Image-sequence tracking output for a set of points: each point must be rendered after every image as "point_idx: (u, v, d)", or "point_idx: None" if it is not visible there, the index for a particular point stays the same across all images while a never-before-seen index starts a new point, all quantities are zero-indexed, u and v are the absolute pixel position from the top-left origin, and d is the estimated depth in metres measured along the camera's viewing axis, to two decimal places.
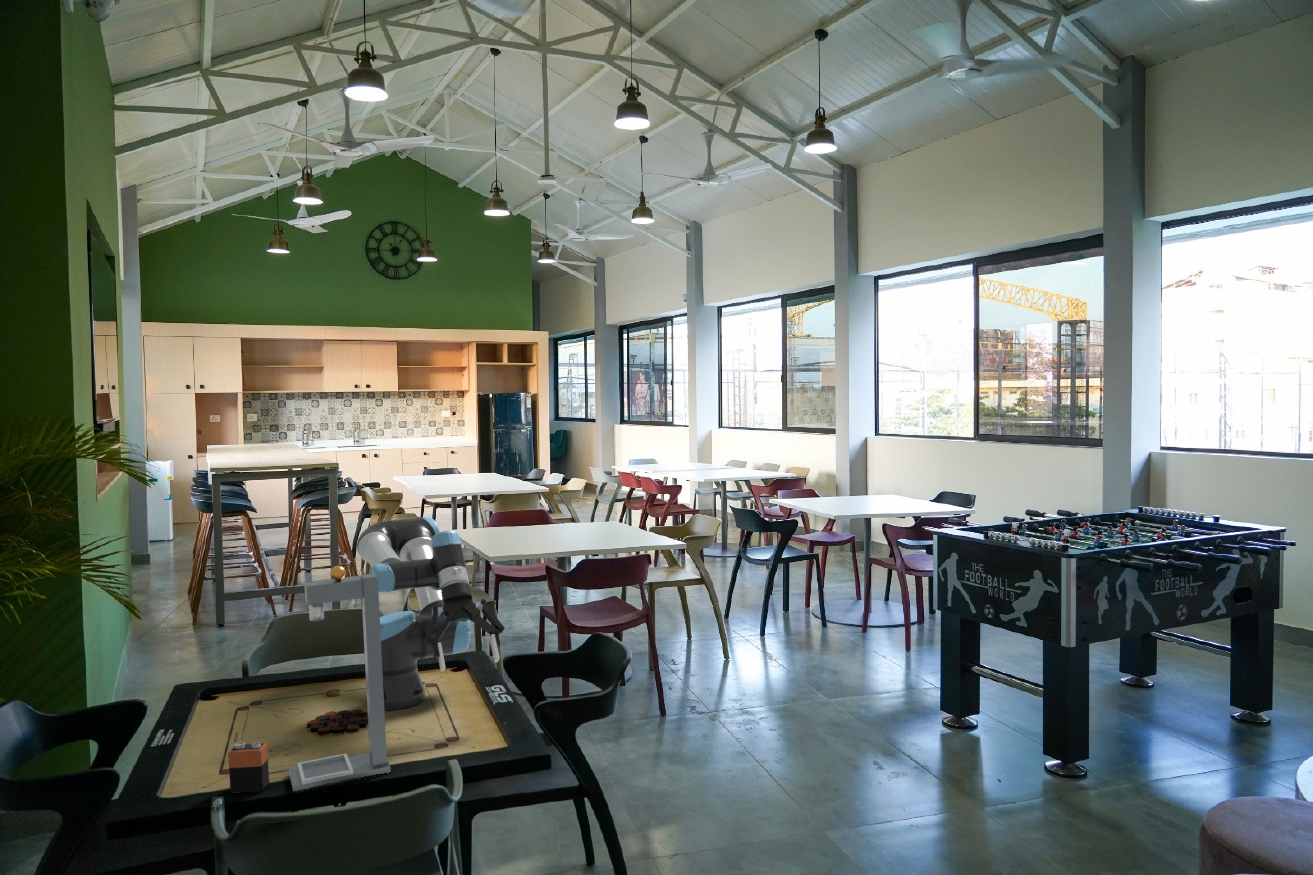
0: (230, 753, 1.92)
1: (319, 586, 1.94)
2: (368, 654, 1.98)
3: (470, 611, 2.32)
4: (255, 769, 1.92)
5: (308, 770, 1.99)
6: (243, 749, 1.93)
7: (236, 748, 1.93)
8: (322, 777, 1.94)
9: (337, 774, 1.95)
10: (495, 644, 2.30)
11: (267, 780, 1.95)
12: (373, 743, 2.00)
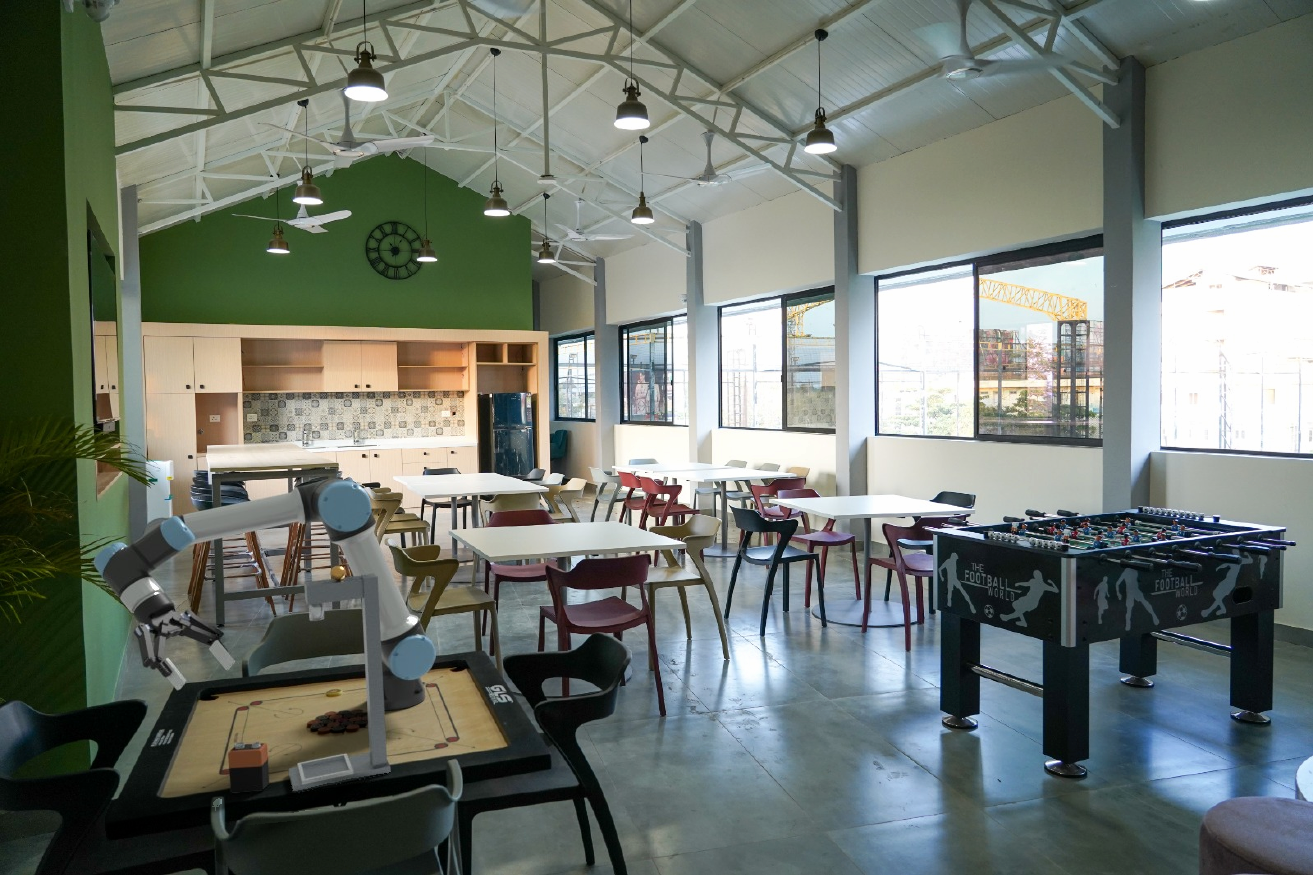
0: (230, 753, 1.92)
1: (319, 586, 1.94)
2: (368, 654, 1.98)
3: None
4: (255, 769, 1.92)
5: (308, 770, 1.99)
6: (243, 749, 1.93)
7: (236, 748, 1.93)
8: (322, 777, 1.94)
9: (337, 774, 1.95)
10: None
11: (267, 780, 1.95)
12: (373, 743, 2.00)
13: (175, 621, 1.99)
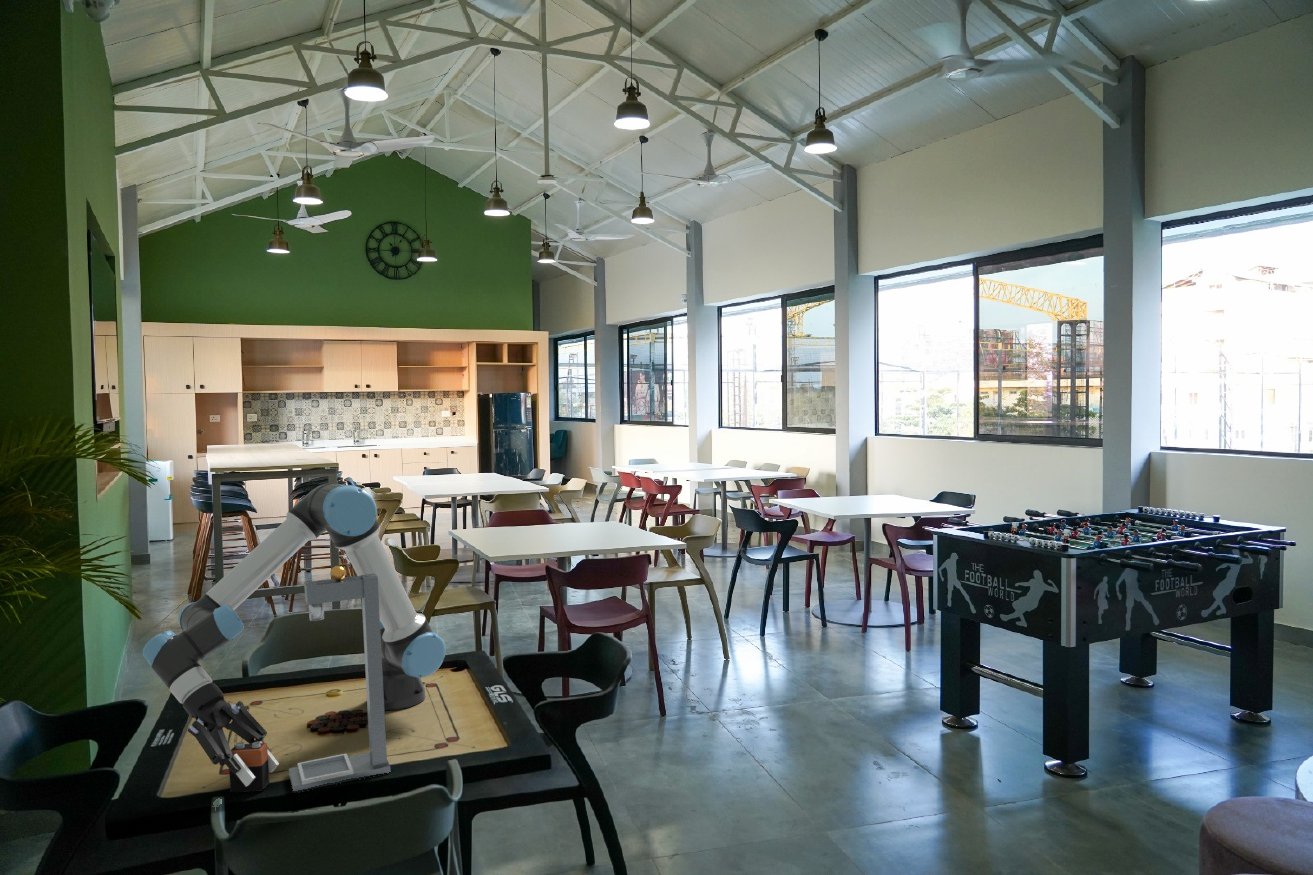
0: None
1: (319, 586, 1.94)
2: (368, 654, 1.98)
3: None
4: (255, 769, 1.92)
5: (308, 770, 1.99)
6: (243, 749, 1.93)
7: (236, 748, 1.93)
8: (322, 777, 1.94)
9: (337, 774, 1.95)
10: None
11: (267, 780, 1.95)
12: (373, 743, 2.00)
13: (223, 711, 1.96)
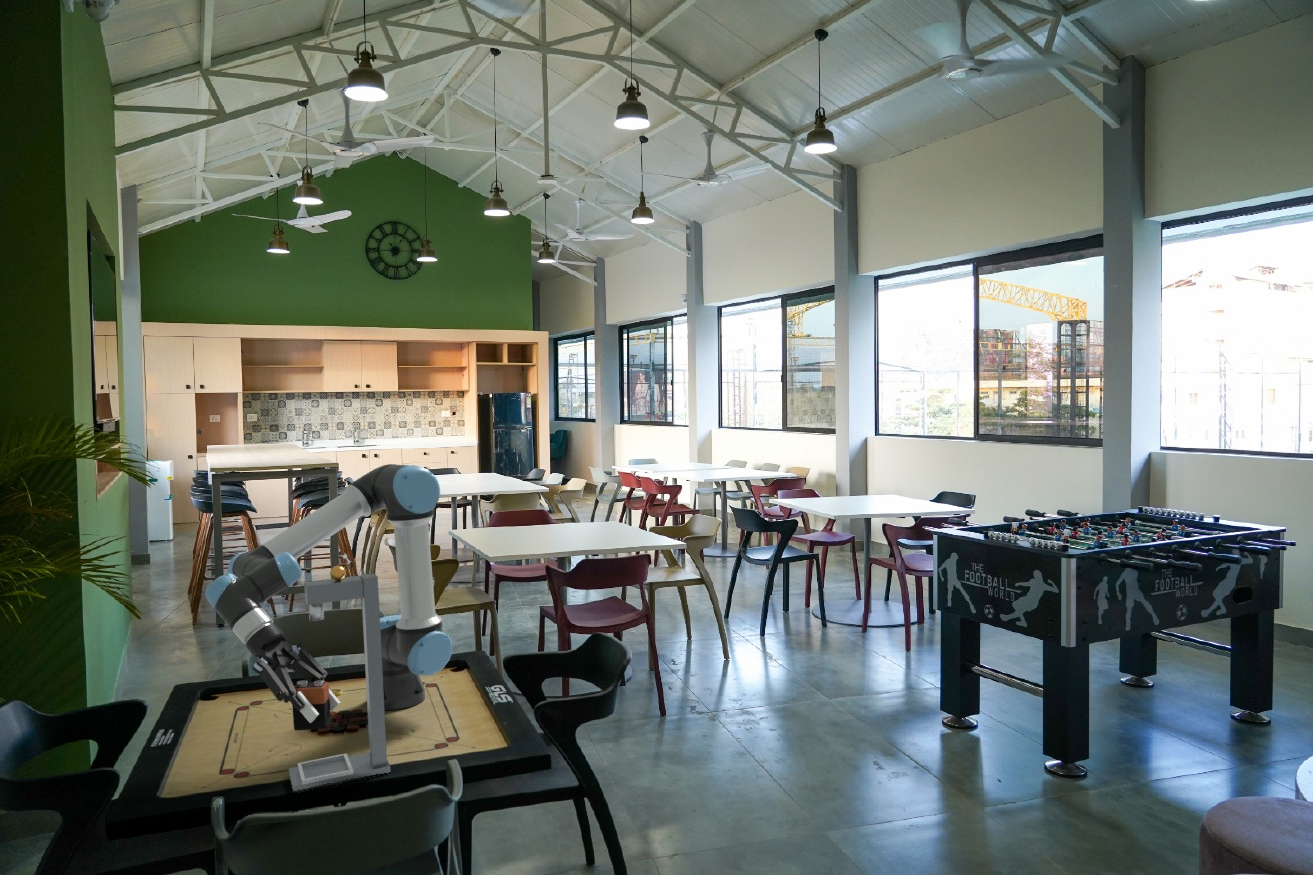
0: None
1: (319, 586, 1.94)
2: (368, 654, 1.98)
3: None
4: (318, 707, 1.95)
5: (308, 770, 1.99)
6: (306, 687, 1.96)
7: (299, 686, 1.96)
8: (322, 777, 1.94)
9: (337, 774, 1.95)
10: None
11: (329, 718, 1.99)
12: (373, 743, 2.00)
13: (285, 651, 2.00)
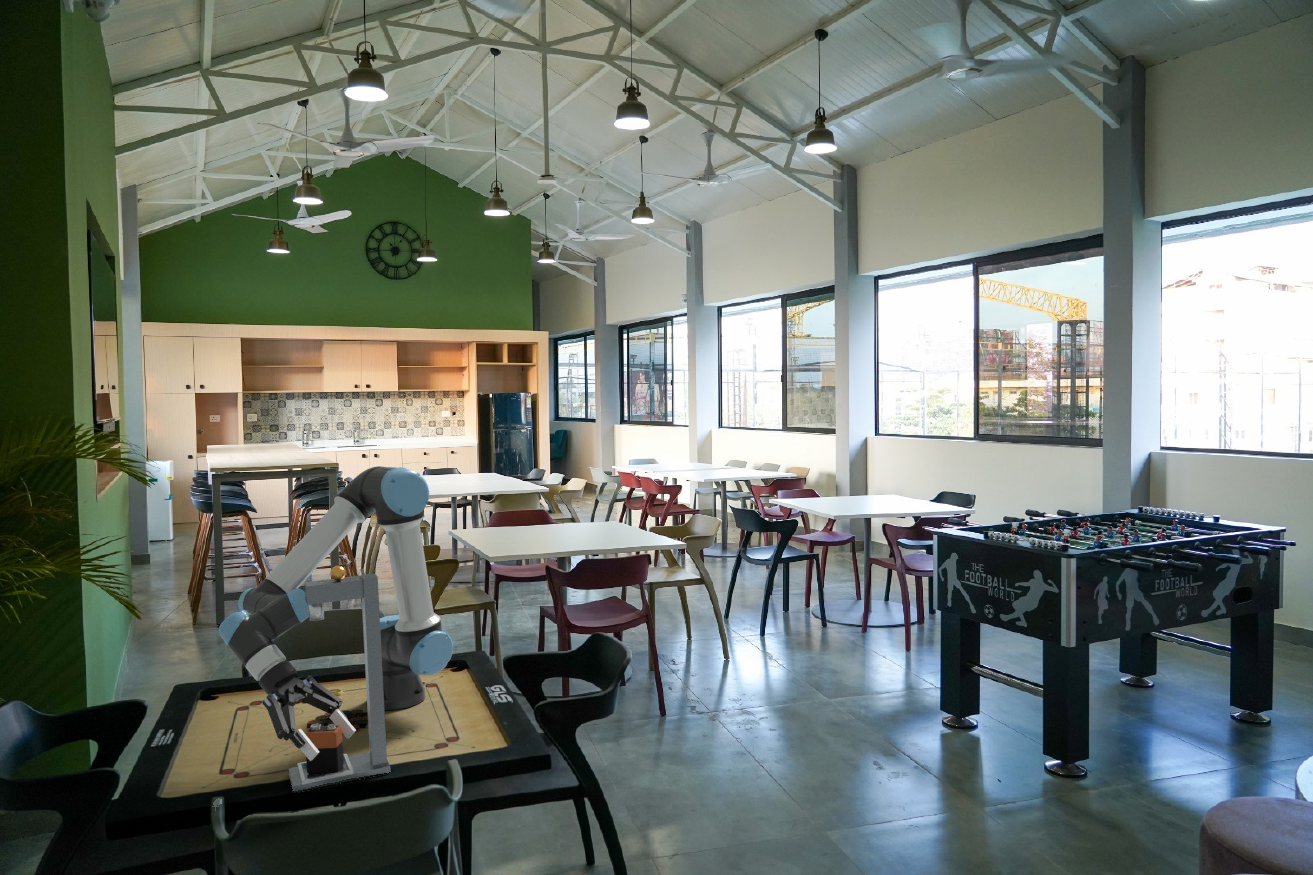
0: (307, 734, 1.97)
1: (319, 586, 1.94)
2: (368, 654, 1.98)
3: None
4: (331, 751, 1.97)
5: None
6: (319, 731, 1.98)
7: (312, 729, 1.98)
8: (322, 777, 1.94)
9: (337, 774, 1.95)
10: None
11: (342, 761, 2.00)
12: (373, 743, 2.00)
13: (298, 688, 2.01)
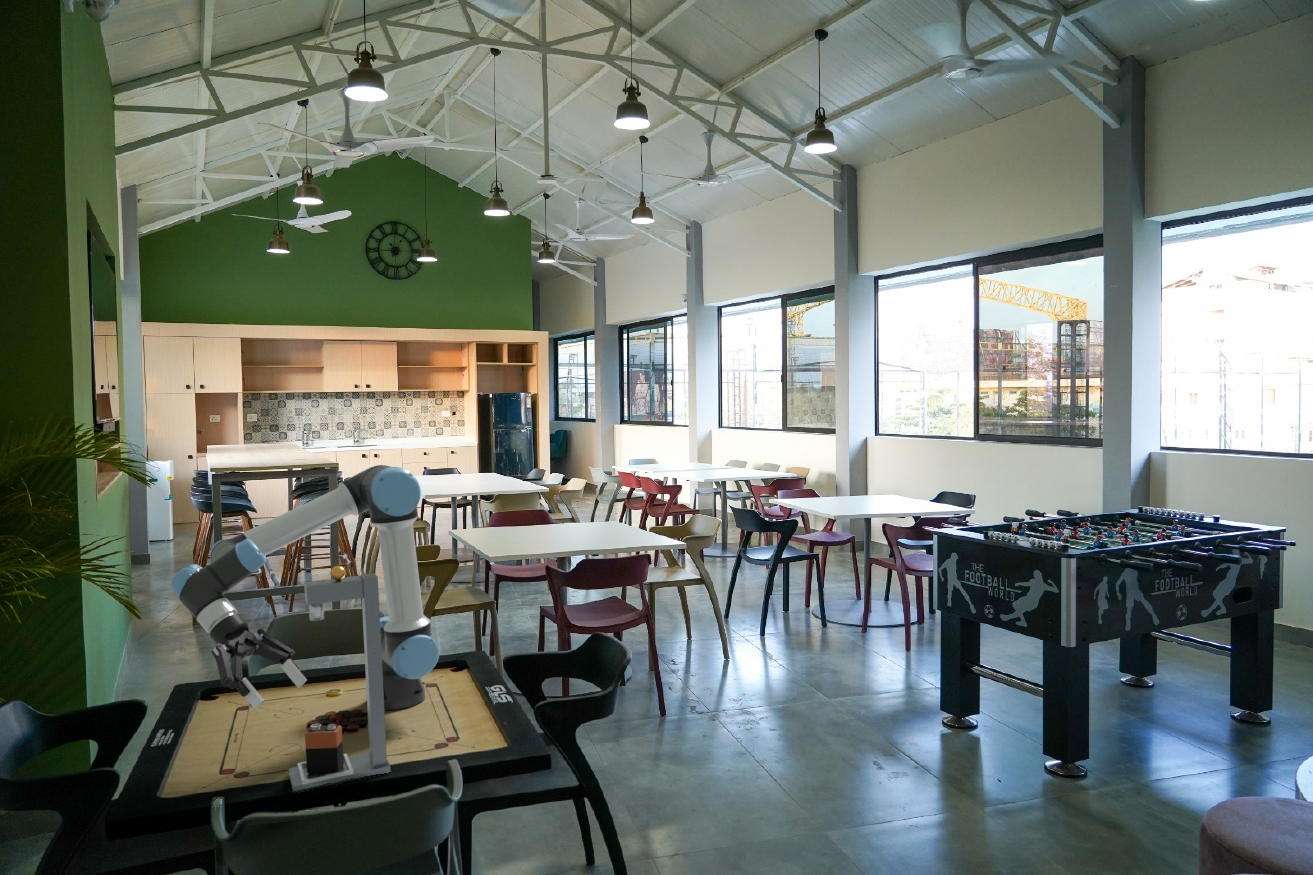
0: (307, 734, 1.97)
1: (319, 586, 1.94)
2: (368, 654, 1.98)
3: None
4: (331, 750, 1.97)
5: None
6: (319, 731, 1.98)
7: (312, 729, 1.98)
8: (322, 777, 1.94)
9: (337, 774, 1.95)
10: None
11: (342, 761, 2.00)
12: (373, 743, 2.00)
13: (249, 640, 2.05)
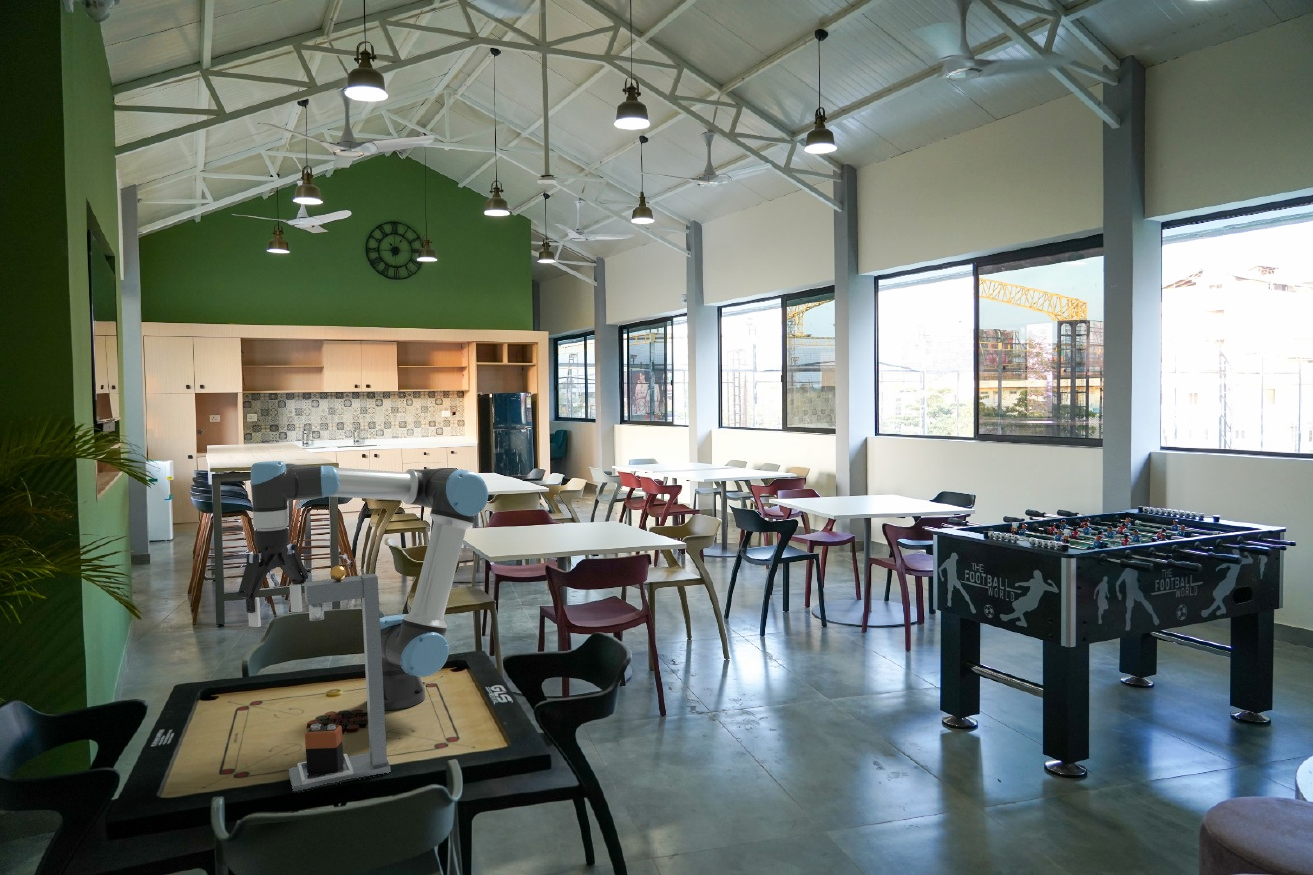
0: (307, 734, 1.97)
1: (319, 586, 1.94)
2: (368, 654, 1.98)
3: None
4: (331, 751, 1.97)
5: None
6: (319, 731, 1.98)
7: (312, 729, 1.98)
8: (322, 777, 1.94)
9: (337, 774, 1.95)
10: None
11: (342, 761, 2.00)
12: (373, 743, 2.00)
13: (281, 557, 2.12)
